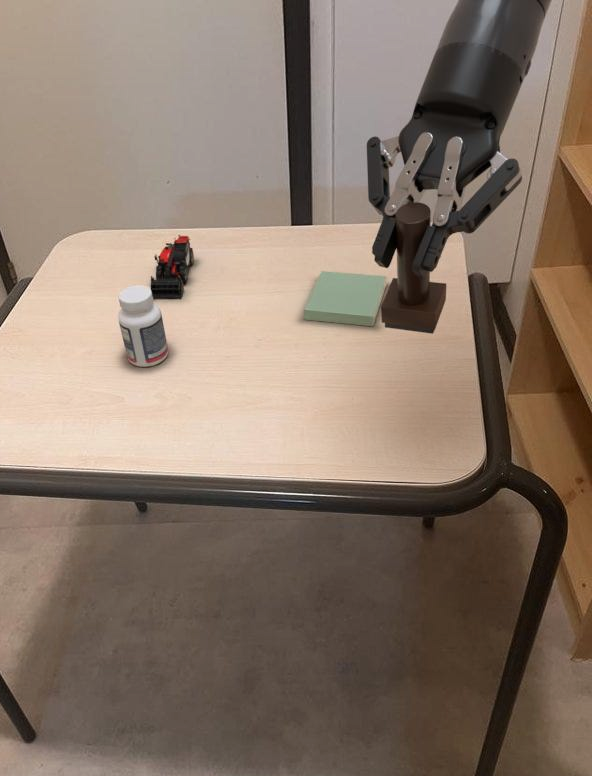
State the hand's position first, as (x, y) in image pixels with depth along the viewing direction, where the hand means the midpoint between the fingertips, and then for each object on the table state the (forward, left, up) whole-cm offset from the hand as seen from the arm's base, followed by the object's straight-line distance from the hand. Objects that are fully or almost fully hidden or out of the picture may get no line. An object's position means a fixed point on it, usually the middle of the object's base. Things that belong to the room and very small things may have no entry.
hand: (399, 268), depth 61 cm
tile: (+10, -27, -21) cm, 36 cm away
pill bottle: (+32, -11, -21) cm, 40 cm away
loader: (+35, -30, -21) cm, 51 cm away
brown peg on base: (-1, -4, -7) cm, 8 cm away
